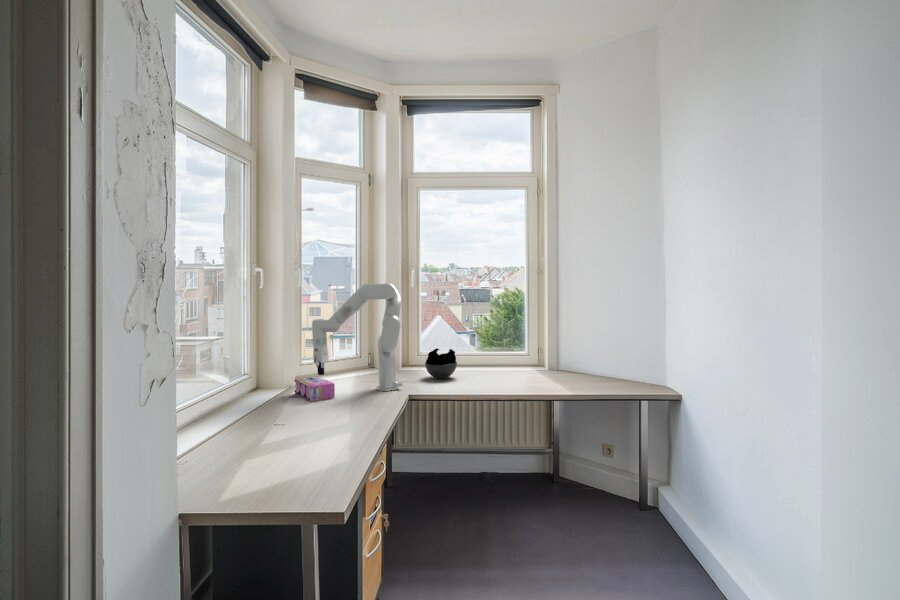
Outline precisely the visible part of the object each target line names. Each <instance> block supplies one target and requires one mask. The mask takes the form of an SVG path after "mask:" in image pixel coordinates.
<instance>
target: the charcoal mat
mask: <svg viewBox="0 0 900 600" xmlns="http://www.w3.org/2000/svg"><path fill="white" fill-rule="evenodd" d="M288 398H289V399H290V398H291V399H305V398H304V397H302V396H300V395H297V394H296V393H295V392H294V393H293V394H291V395H289V396H288Z"/></svg>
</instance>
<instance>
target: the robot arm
mask: <svg viewBox="0 0 900 600" xmlns="http://www.w3.org/2000/svg"><path fill="white" fill-rule="evenodd" d="M401 298H402V297H401V295H400V293H399V291H398V290H397V289H396V286H395V285H393V284H392V283H390V282H386V283H373V284H372V283H371V284H370V283H364V284H362V285H361V286H360V287H358V288H357V290H356V291H355V292H354V293H353V294H352V295H351V296H350V297H349V298H348V299H347V300H346V301H345V302H344V303H343V304H342V305H341V306H340V307H339V309H337V310H336V312H335V313H333V314H332V315H331V317H329V318H328V319H323V318H317V319H313V320H312V321H311V331H312V333H311V335H312V345H313V351H312V352H313V353H312V354H313V355H312V357H313V363H315V366H316V368H317V376H323V375H325V363H326V362H327V361H329V349H328V339H327V338H328V337H327V333H337V332H338V331H339V330H340V328H341V327H342V326H343V324H344V323H346V321H347V320H348V319H349V318H350V317H352V316H354V315H355V314H357V312H358V311H360V310H361V309H362V307H363V306H364V305H366V304H367V303H368V301H371V300H374V301H375V300H385V310H384V314H383V317H382V318H383V319H382V321H381V325H382V329H381V334H380V336H378V339H377V350H378V351H377V354H378V385H376V390H377V391H380V392H381V391H383V392H391V390H392V391H395V390H398V389H399V387H403V386H404V383H403V382H399V381H398V379H396V377H397V375H396V369H397V368H396V348H397V345H398V341H399V336H400V330H401V321H400V314H401V306H402V299H401Z"/></svg>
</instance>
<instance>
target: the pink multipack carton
mask: <svg viewBox="0 0 900 600" xmlns="http://www.w3.org/2000/svg"><path fill="white" fill-rule="evenodd" d="M293 381H294V382H295V385H294V386H295V388H294V394H295V393H296V394H297V395H300V396H302V397H304V398H303V399H305V400H308V401H309V402H313V401H321V400H327V399H328V400H329V399H334V398H335V396H336V395H335V394H336V393H335V390H336V388H335V385H336V384H335V383H334V382H332V381H329V380H328V379H325V378H322V377H321V376H319V375H317V376H311V377H305V378H297V379H294V380H293Z"/></svg>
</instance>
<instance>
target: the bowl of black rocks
mask: <svg viewBox="0 0 900 600" xmlns="http://www.w3.org/2000/svg"><path fill="white" fill-rule="evenodd" d="M439 350H440V348H434V349H433V350H431V351H429V352H428V353H427V358H426V361H425V362H424V367H425V369H426V372H427V373H428V374H429V376H431V377H433V378H434V379H435V378H436V379H440V380H442V379H447V378H449V377H450V376H452V375H453V374H454V373H455V372H456V369H457V366H458V361H457V356H456V354H455V353H456V351H455V350H453V349H452V348H450V349H448V352H446V353H440V354H438V353H437V352H438V351H439Z"/></svg>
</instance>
